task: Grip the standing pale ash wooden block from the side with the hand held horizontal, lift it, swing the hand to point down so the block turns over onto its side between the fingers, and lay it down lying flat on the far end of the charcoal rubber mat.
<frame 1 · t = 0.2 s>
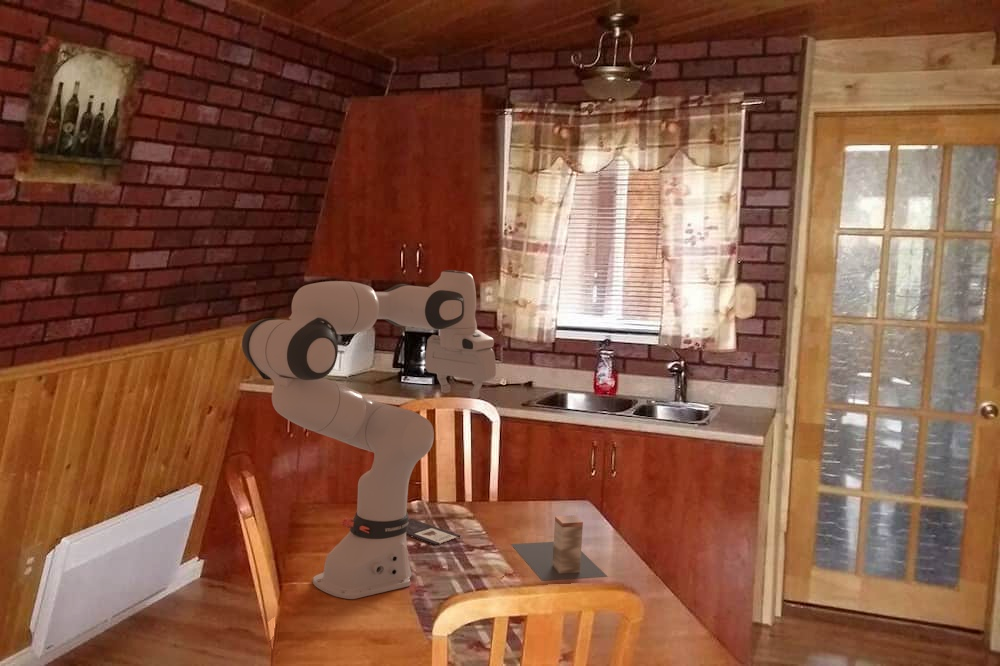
hand: (460, 394, 219), 39 cm above the table, tool pointing down, fingers open, 8 cm apart
rubber mat: (557, 561, 219), on the table
ash block: (565, 568, 214), point 1 cm above the table, touching rubber mat
chocolate bar: (423, 535, 236), on the table
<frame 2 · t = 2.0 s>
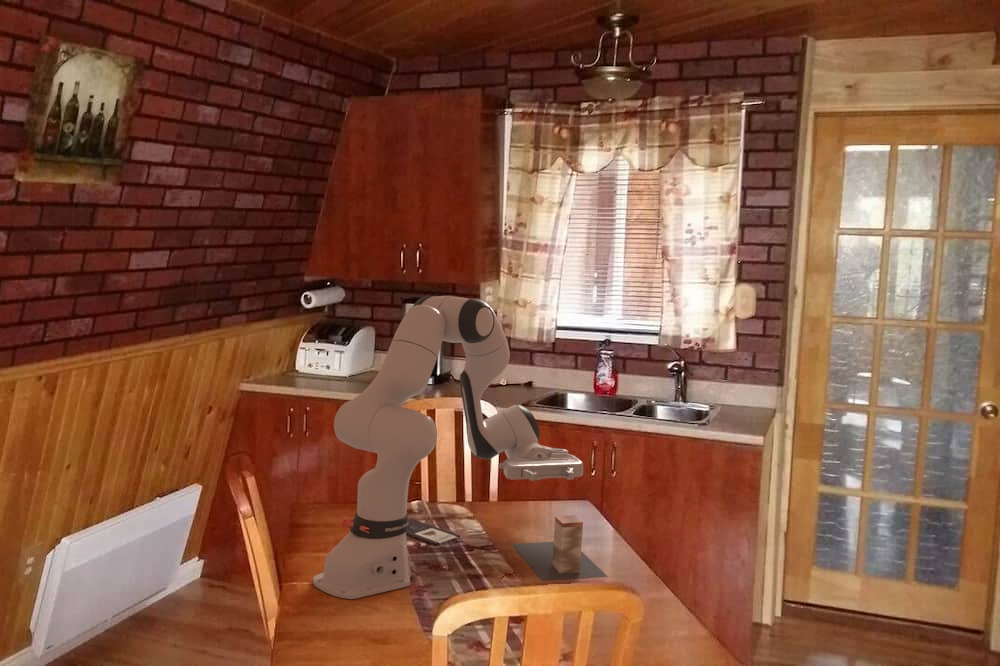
hand: (553, 477, 223), 19 cm above the table, tool horizontal, fingers open, 8 cm apart
nothing on the table moved.
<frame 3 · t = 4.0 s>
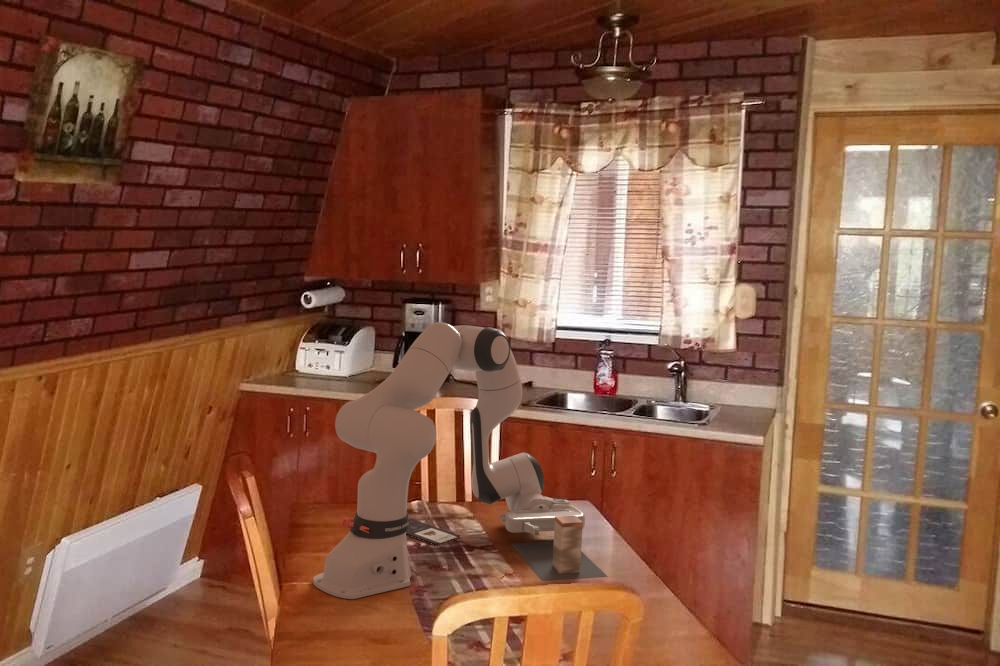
hand: (554, 530, 221), 7 cm above the table, tool horizontal, fingers open, 8 cm apart
nothing on the table moved.
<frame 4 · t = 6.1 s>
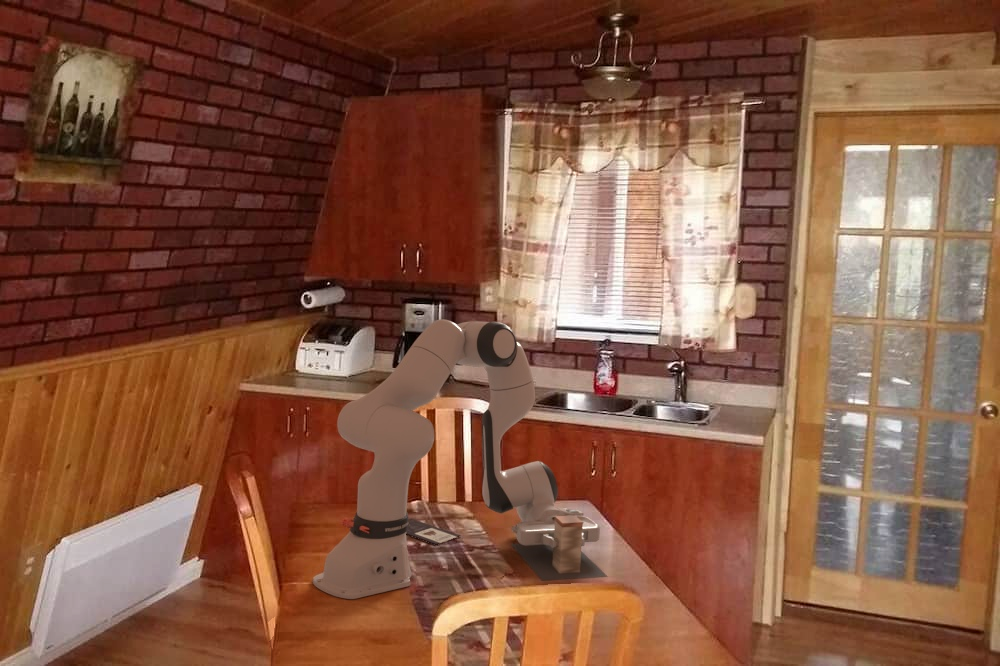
hand: (568, 543, 212), 7 cm above the table, tool horizontal, fingers closed on ash block, 5 cm apart
ash block: (565, 568, 214), point 1 cm above the table, touching gripper, rubber mat
everything else where it was.
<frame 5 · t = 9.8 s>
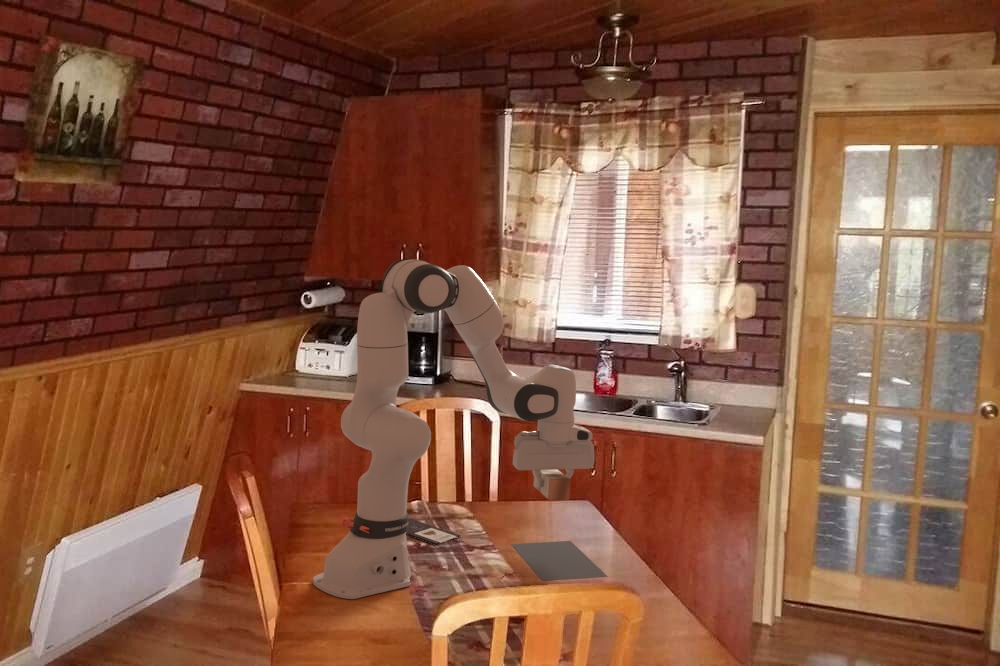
hand: (552, 486, 223), 17 cm above the table, tool pointing down, fingers closed on ash block, 5 cm apart
ash block: (543, 476, 229), point 18 cm above the table, tilted 90°, touching gripper
everything else where it was.
when the fingers open (4 cm above the table, at t = 12.8 s): ash block drops 1 cm, resting on rubber mat.
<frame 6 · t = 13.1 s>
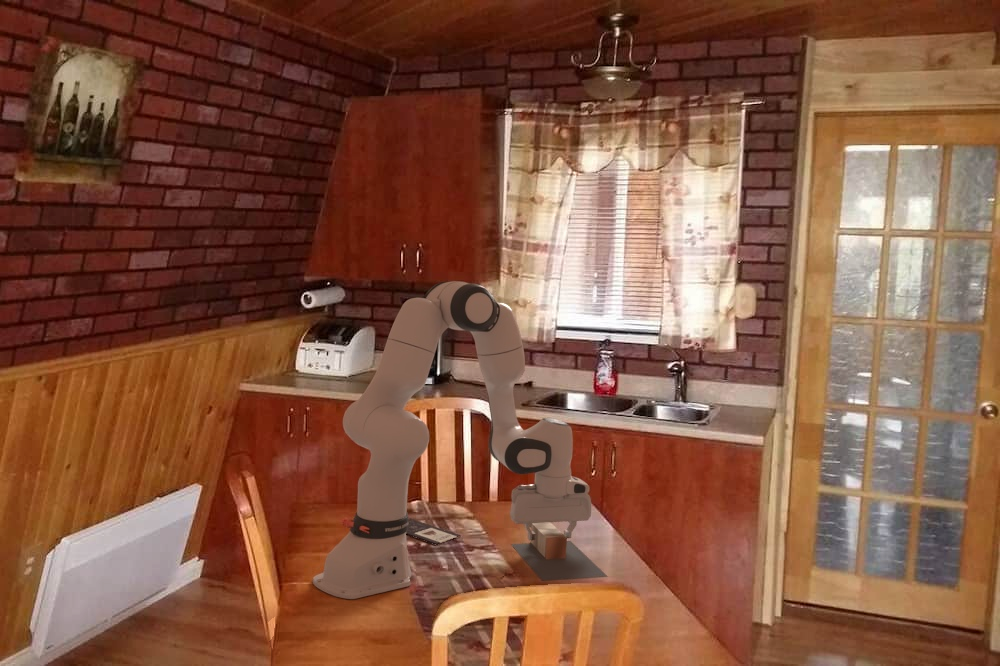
hand: (549, 538, 225), 4 cm above the table, tool pointing down, fingers open, 8 cm apart
ash block: (540, 532, 231), point 3 cm above the table, tilted 90°, touching rubber mat
everything else where it was.
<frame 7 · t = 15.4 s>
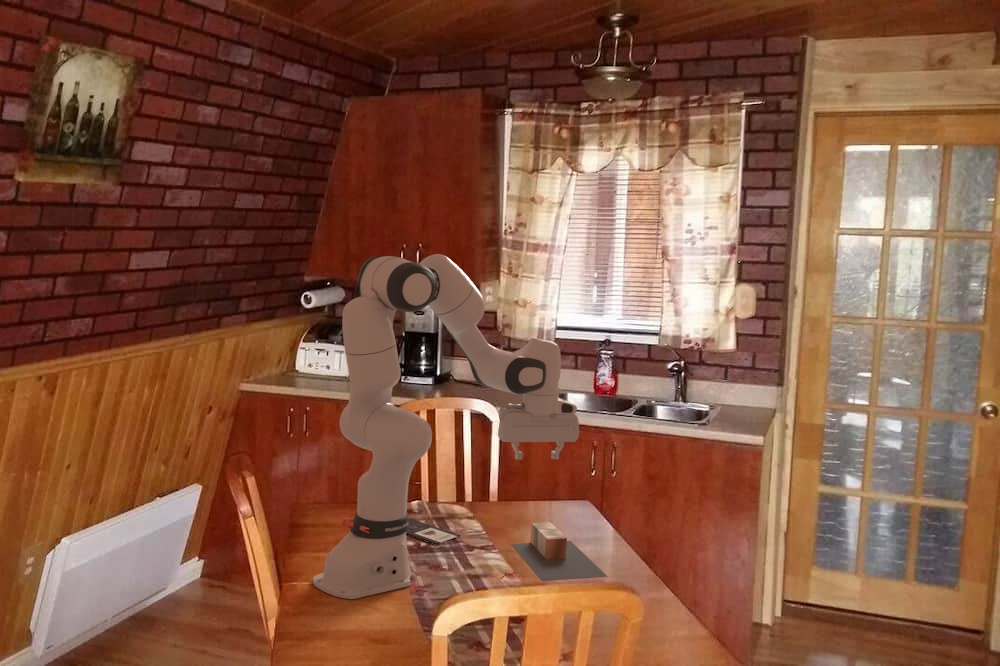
hand: (536, 458, 226), 23 cm above the table, tool pointing down, fingers open, 8 cm apart
nothing on the table moved.
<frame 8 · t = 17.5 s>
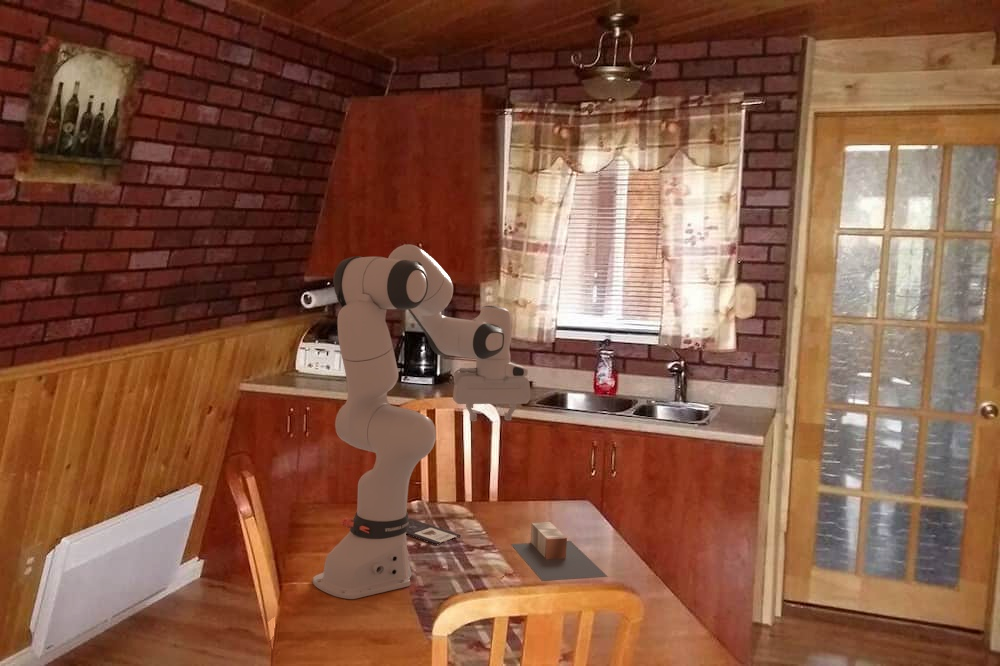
hand: (490, 420, 238), 29 cm above the table, tool pointing down, fingers open, 8 cm apart
nothing on the table moved.
at the end: ash block tilted 90°; ash block touching rubber mat; the gripper is holding nothing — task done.
